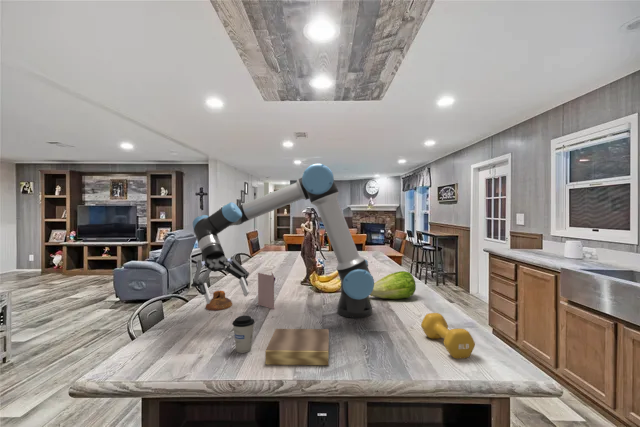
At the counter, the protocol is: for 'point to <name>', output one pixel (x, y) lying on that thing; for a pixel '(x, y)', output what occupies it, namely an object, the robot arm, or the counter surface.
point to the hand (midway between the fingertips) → (229, 298)
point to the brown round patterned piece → (219, 301)
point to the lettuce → (395, 286)
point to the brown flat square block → (298, 347)
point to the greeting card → (266, 290)
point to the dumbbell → (448, 336)
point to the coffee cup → (243, 333)
